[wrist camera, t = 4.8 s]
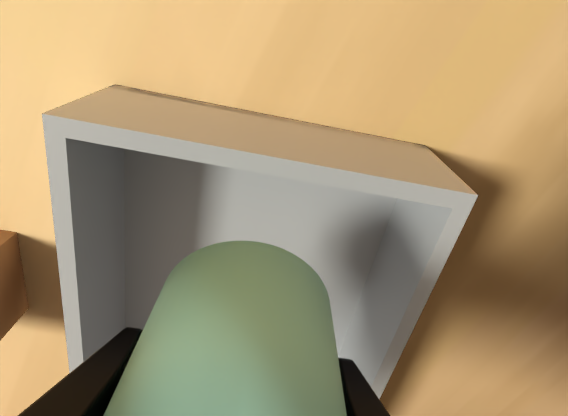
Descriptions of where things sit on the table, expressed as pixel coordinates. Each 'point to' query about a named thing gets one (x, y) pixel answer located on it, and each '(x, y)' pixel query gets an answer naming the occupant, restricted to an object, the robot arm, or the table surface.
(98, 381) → the robot arm
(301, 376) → the teal cylinder
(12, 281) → the walnut cube
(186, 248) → the tote
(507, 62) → the table surface
